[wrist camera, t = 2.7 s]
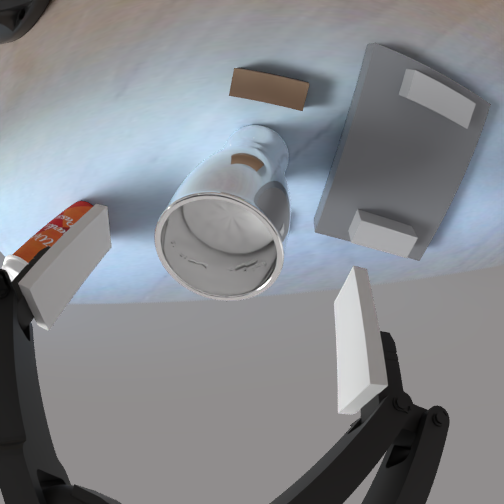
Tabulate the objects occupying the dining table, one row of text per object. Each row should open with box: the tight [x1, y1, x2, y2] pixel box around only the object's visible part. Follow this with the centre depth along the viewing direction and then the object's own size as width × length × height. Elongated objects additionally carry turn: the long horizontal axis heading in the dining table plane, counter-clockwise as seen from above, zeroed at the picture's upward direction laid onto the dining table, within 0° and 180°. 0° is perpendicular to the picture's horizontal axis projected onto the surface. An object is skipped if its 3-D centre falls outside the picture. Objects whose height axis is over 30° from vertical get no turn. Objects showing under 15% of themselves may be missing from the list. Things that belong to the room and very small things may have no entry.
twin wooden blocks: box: [229, 68, 309, 111], centre depth 25 cm, size 16×6×2 cm, turn 169°
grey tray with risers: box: [314, 43, 491, 261], centre depth 22 cm, size 18×12×4 cm, turn 169°
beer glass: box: [155, 125, 291, 301], centre depth 20 cm, size 7×7×15 cm
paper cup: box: [1, 201, 93, 282], centre depth 28 cm, size 8×8×14 cm
